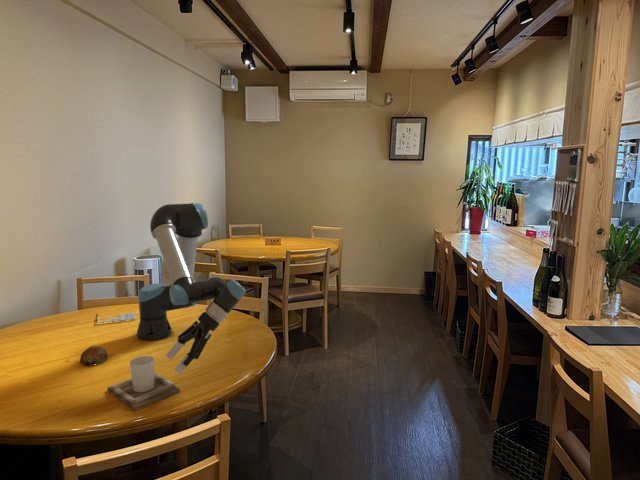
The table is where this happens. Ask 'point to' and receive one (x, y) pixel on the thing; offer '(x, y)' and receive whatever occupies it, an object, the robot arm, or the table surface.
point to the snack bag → (124, 317)
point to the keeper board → (143, 399)
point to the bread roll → (94, 355)
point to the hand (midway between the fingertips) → (172, 364)
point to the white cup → (142, 373)
